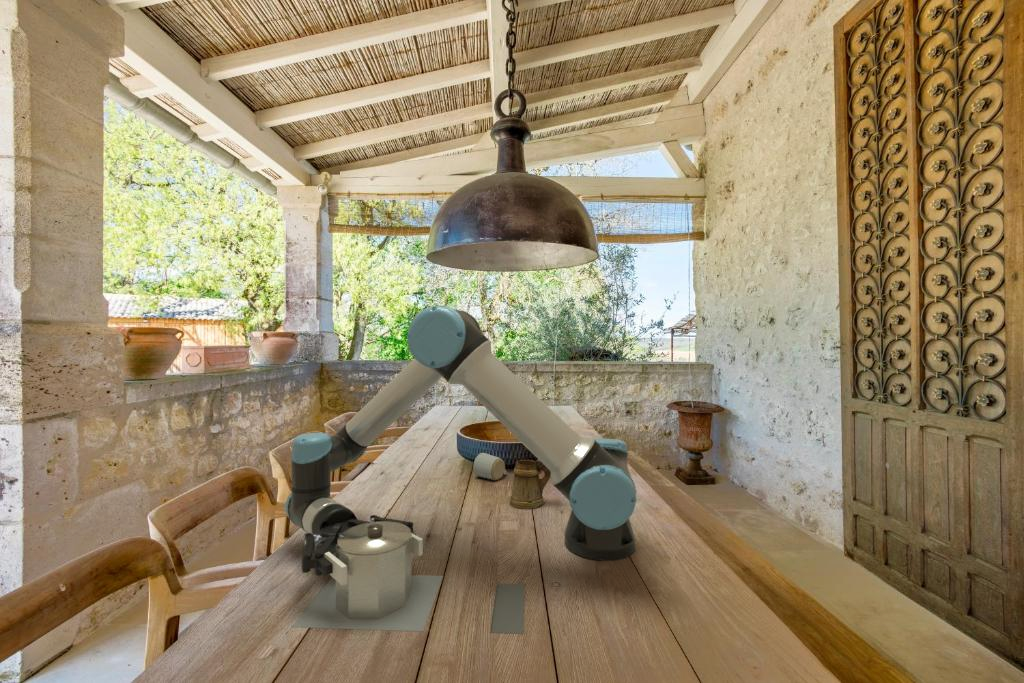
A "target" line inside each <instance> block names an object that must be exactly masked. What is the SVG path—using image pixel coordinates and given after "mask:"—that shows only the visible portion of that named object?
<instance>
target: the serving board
mask: <svg viewBox="0 0 1024 683" xmlns="http://www.w3.org/2000/svg"><path fill="white" fill-rule="evenodd" d="M443 579H444V575H421V574H418V575H417V574H411V593H410V596H409V598H408V600H407V603H406V605H405V607H404V608H402V609H400V610H397V611H395V612H393V613H391V614H389V615H386V616H384V617H382V618H380V619H348V618H347V617H346V616H345V615H344V614H343V613H342V612H341V611H340V610H339V609H338V608H337V607H336V580H335V579H334V578H333V577H331V579H330V580H329V581H328V582H327V584H326V585H325V586H324V587H323V588H322V590H321V591H320V592H319V593H318V594H317V596H315V598H314V600H312V601H311V603H310V604H309V605H308V606H307V607H306V609H305V610H304V611H303V612H302V614H301V615H299V617H298V618H297V619H296V620H295V622H294V623H293V624H292V625H291V628H306V629H307V628H308V629H329V630H331V629H335V630H362V631H363V630H364V631H365V630H367V631H392V632H397V631H399V632H421V633H422V632H424V629H425V628H426V624H427V622H428V619H429V616H430V614H431V611H432V609H433V606H434V603H435V600H436V598H437V595H438V592H439V589H440V587H441V584H442V581H443Z"/></svg>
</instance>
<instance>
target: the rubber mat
mask: <svg viewBox="0 0 1024 683" xmlns="http://www.w3.org/2000/svg"><path fill="white" fill-rule="evenodd" d="M495 588H496V589H495V595H494V601H493V609H492V610H493V611H492V617H491V623H490V624H491V625H490V631H489V633H490V634H508V635H509V634H511V635H524V634H525V633H524V632H525V605H526V604H525V602H526V598H525V597H526V596H525V595H526V583H508V582H507V583H504V582H501V583H498V582H497V583H496V587H495Z"/></svg>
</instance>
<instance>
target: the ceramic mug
mask: <svg viewBox="0 0 1024 683" xmlns="http://www.w3.org/2000/svg"><path fill="white" fill-rule="evenodd" d="M472 469H473V473H474V475H475V476H476V477H479V478H482V479H483V478H484V479H486V478H487V480H490V479H491V481H499V480H500V479H501V478H502V477H503V476H506V474H507V470H506V464H505V462H504V460H503V459H502V458H501V457H498V456H495V455H491V454H489V453H486V452H480V453H479V454H478V455H477V456H476V457H475V459H474V462H473V468H472ZM503 474H504V475H503Z"/></svg>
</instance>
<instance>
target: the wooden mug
mask: <svg viewBox="0 0 1024 683" xmlns="http://www.w3.org/2000/svg"><path fill="white" fill-rule="evenodd" d="M513 468H514V469H513V474H514V475H513V481H512V491H511V495H510V497H509V498H510V499H509V505H510V506H512V507H513V508H516V509H520V508H521V509H520V510H531V509H537V508H539V506H540V507H541V506H542V505H543V503H544V502H545V501H544V497H543V496H544V495H543V490H544V489H545V487H546V485H547V484H548V483H549V481H550V478H551V472H550V470H549V469H548V468H547V467H546V466H545V465H544V464H543V463H542V462H541V461H540V460H539V459H536V461H535V460H532V459H520V460H516V461H515V466H514V467H513ZM541 470H542V471H543V472H544V475H543V477H542V478H540V474H541V473H542V472H541ZM522 508H523V509H522Z"/></svg>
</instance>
